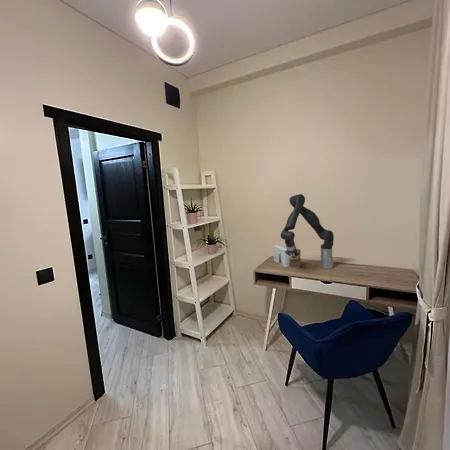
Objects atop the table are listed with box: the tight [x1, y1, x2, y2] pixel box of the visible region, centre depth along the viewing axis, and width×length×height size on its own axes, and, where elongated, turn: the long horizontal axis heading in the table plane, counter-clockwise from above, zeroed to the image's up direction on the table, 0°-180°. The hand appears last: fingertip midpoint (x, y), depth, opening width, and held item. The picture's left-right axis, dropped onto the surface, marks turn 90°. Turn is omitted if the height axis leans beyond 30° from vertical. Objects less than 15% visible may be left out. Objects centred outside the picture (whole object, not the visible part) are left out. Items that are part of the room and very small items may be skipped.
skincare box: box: [272, 244, 291, 268], centre depth 241 cm, size 21×6×16 cm, turn 17°
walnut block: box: [289, 248, 302, 269], centre depth 229 cm, size 4×8×16 cm, turn 64°
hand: (294, 257), depth 223 cm, fingers closed
